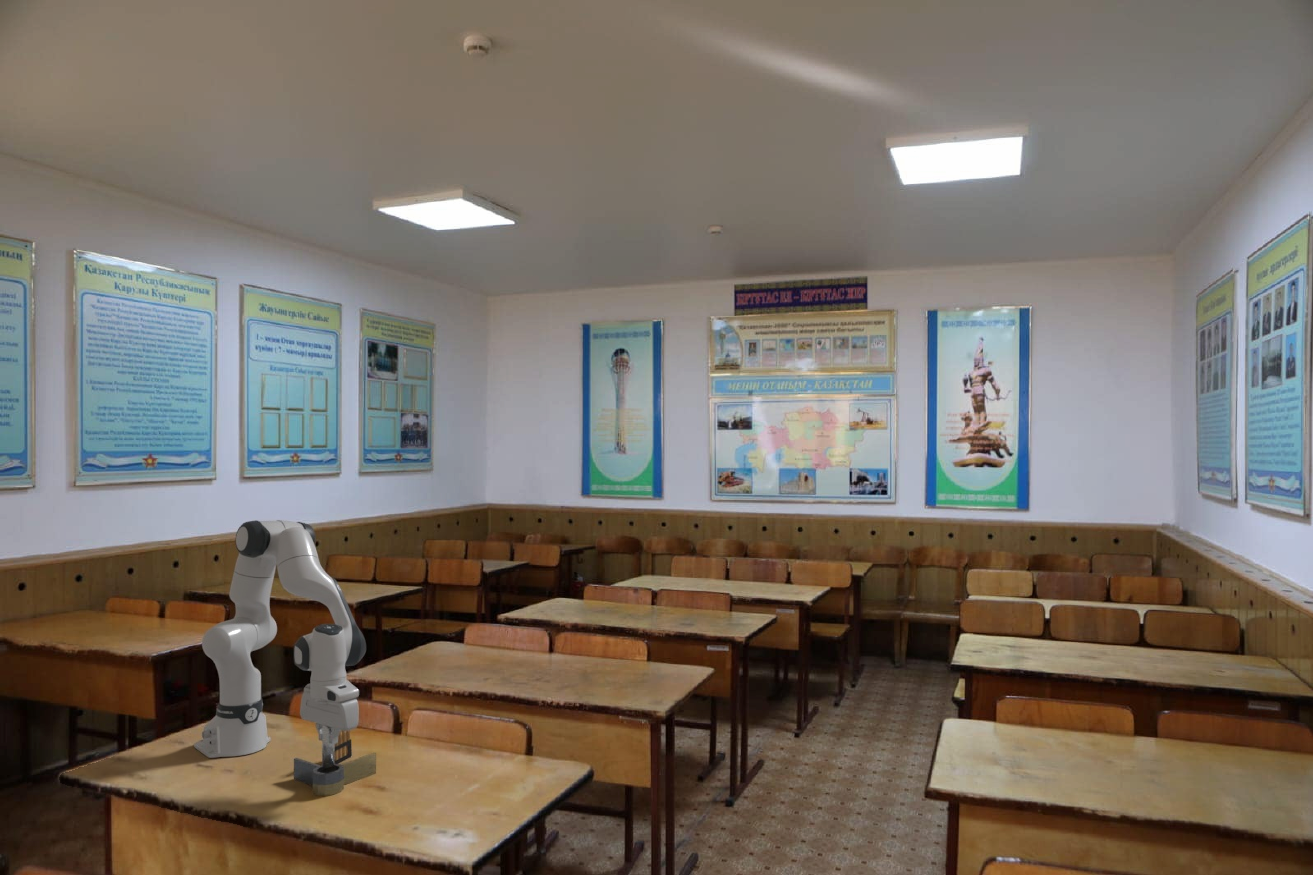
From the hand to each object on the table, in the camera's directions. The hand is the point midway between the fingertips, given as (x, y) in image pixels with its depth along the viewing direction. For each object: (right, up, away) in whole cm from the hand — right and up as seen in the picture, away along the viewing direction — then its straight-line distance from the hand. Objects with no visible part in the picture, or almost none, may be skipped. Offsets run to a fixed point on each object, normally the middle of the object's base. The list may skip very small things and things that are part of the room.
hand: (328, 741), depth 223 cm
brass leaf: (+3, -13, +4) cm, 14 cm away
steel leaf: (-4, -13, +3) cm, 14 cm away
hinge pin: (0, -6, 0) cm, 6 cm away
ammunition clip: (-5, -13, +20) cm, 25 cm away
